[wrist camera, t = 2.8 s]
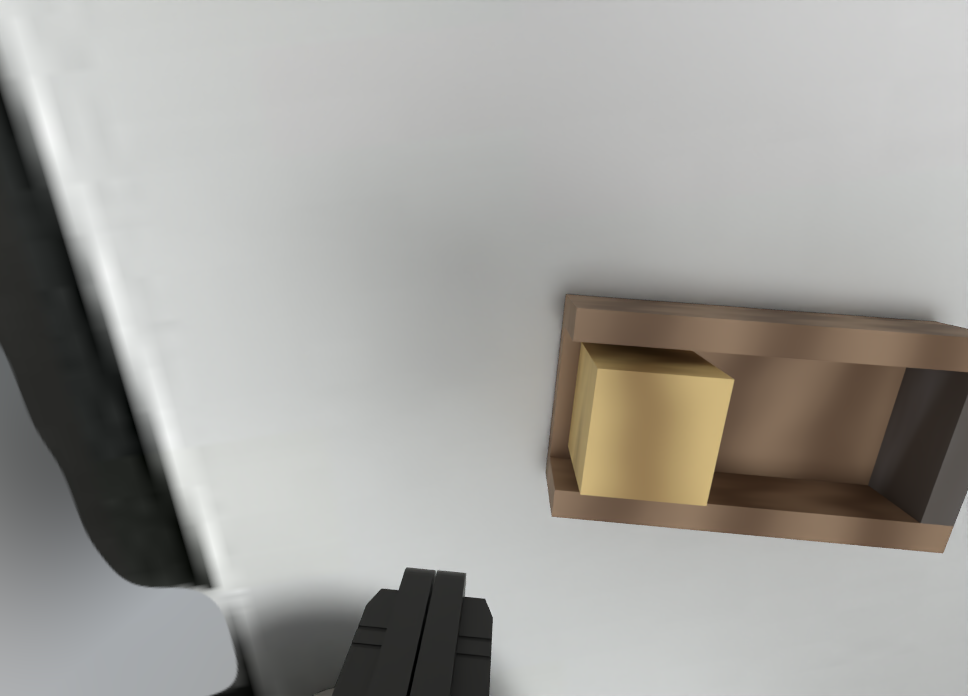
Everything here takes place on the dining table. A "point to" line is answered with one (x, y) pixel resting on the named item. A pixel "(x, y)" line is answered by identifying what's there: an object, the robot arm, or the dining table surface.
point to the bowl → (325, 692)
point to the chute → (795, 422)
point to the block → (647, 423)
